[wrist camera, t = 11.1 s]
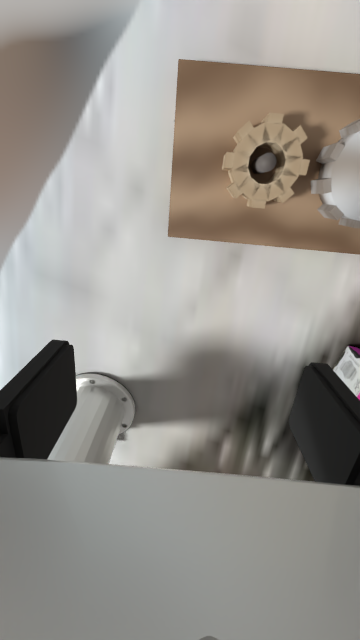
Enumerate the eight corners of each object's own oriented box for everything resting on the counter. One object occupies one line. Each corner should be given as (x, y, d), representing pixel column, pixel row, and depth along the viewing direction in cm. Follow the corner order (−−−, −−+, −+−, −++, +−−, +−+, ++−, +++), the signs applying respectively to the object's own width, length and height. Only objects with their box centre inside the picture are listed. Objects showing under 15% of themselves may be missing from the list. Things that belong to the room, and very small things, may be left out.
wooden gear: (287, 209, 28) (296, 211, 26) (217, 203, 28) (219, 204, 26) (307, 125, 25) (320, 117, 23) (228, 117, 25) (232, 109, 23)
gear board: (375, 253, 32) (419, 268, 25) (169, 233, 32) (162, 244, 26) (438, 90, 25) (518, 56, 19) (179, 68, 26) (174, 28, 19)
